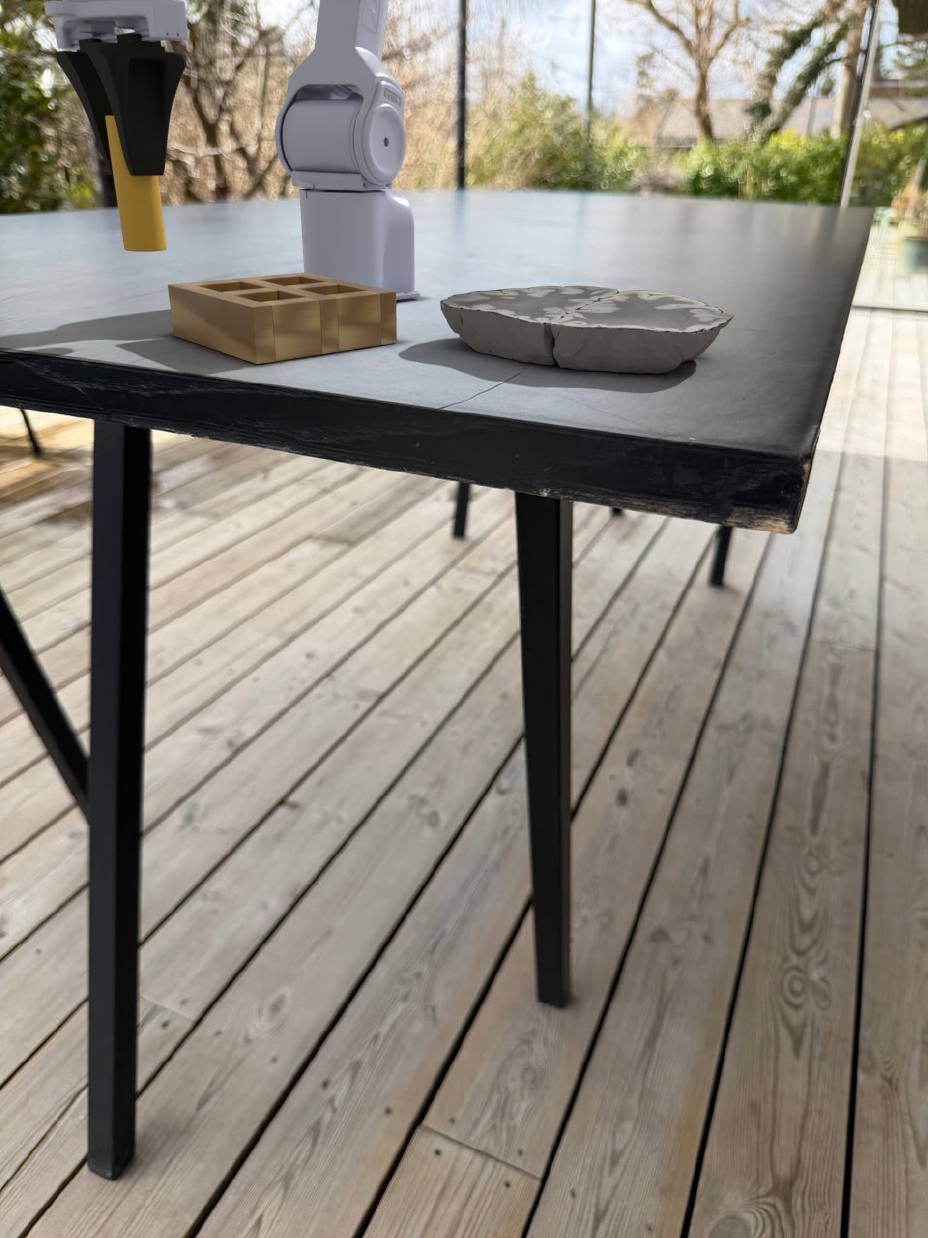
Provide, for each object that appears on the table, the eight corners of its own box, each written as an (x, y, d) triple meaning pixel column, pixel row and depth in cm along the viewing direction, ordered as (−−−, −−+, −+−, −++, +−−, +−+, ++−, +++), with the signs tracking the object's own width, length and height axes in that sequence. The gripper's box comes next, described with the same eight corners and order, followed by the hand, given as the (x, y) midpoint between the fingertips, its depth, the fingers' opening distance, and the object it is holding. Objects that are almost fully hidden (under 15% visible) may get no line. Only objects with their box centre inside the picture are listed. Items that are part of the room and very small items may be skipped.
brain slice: (749, 341, 68) (756, 299, 66) (695, 391, 54) (702, 339, 53) (507, 316, 75) (509, 278, 74) (407, 353, 62) (406, 307, 60)
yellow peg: (155, 246, 64) (139, 116, 60) (174, 250, 62) (158, 116, 59) (117, 248, 63) (97, 115, 59) (135, 252, 61) (116, 115, 57)
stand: (307, 319, 72) (304, 272, 71) (397, 342, 65) (396, 291, 63) (173, 335, 65) (167, 284, 64) (257, 364, 58) (252, 307, 56)
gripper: (-12, -76, 56) (33, 169, 63) (85, -113, 47) (125, 180, 53) (100, -60, 60) (131, 169, 67) (209, -90, 51) (233, 178, 58)
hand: (135, 174), depth 60 cm, fingers closed on yellow peg, 3 cm apart
